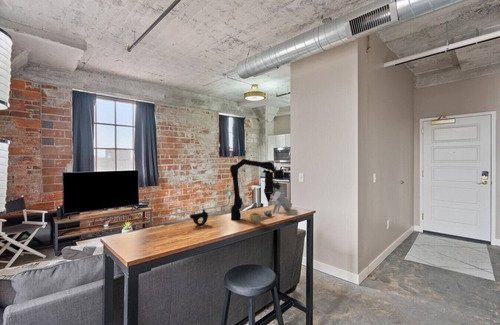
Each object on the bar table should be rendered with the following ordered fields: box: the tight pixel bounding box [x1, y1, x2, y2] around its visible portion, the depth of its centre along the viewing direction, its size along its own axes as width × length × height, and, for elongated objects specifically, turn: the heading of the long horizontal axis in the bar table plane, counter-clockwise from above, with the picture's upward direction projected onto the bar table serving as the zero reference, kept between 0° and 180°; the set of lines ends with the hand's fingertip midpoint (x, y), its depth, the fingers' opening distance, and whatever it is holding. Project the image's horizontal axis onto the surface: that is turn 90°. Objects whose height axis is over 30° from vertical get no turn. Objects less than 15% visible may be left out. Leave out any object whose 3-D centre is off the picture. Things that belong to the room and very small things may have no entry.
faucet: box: [271, 191, 293, 214], centre depth 203 cm, size 6×16×20 cm
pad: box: [261, 215, 270, 221], centre depth 180 cm, size 8×6×1 cm
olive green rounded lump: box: [249, 212, 262, 225], centre depth 169 cm, size 6×4×6 cm, turn 44°
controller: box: [189, 209, 209, 226], centre depth 164 cm, size 4×12×10 cm, turn 122°
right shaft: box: [263, 209, 273, 218], centre depth 186 cm, size 6×4×5 cm, turn 145°
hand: (268, 200), depth 179 cm, fingers open, 9 cm apart
